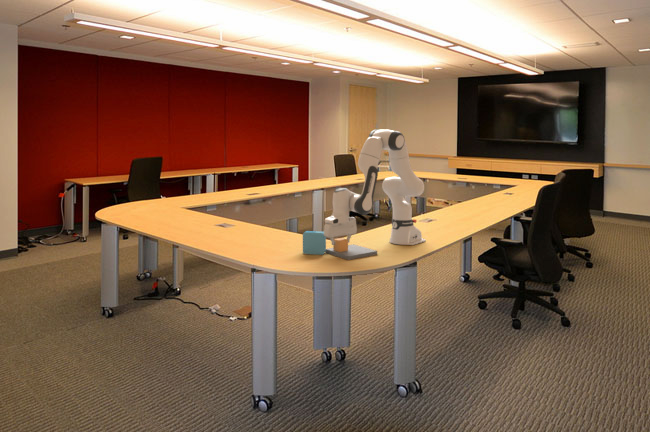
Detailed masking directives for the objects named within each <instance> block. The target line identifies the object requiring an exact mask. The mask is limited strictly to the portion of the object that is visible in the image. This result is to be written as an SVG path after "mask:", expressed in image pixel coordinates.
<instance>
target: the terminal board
mask: <svg viewBox="0 0 650 432" xmlns="http://www.w3.org/2000/svg"><path fill="white" fill-rule="evenodd" d="M325 253H326V254H328V255H331V256H335V257H338V258H341V259H345V260H347V261H350V260H357V259H362V258H367V257H371V256H376V255H378V250H376V249H371V248H368V247H365V246H361V245H358V244H348V251H342V252H338V251H335V250H333V247H331V248H330V247H329V248H326V252H325ZM325 253H324V254H325Z"/></svg>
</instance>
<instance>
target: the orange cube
mask: <svg viewBox="0 0 650 432" xmlns="http://www.w3.org/2000/svg"><path fill="white" fill-rule="evenodd" d="M333 240H334V241H335V242H336V245H332V248H333V250H335V251H338V252H342V251H348V245H349V243H348V240H347V238H344V237H339V238H338V237H337V238H334V239H333Z"/></svg>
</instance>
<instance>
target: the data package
mask: <svg viewBox="0 0 650 432" xmlns="http://www.w3.org/2000/svg"><path fill="white" fill-rule="evenodd" d="M326 249H327V237H325V236H324V231H323V230H322V231H319V230H318V231H316V230H315V231H314V230H312V231H311V230H306V231H304V232H303V233H302V253H303V254H305V255H314V256H315V255H318V256H319V255H320V256H322V255H324V254H325V252H326Z"/></svg>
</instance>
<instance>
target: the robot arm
mask: <svg viewBox="0 0 650 432" xmlns="http://www.w3.org/2000/svg"><path fill="white" fill-rule="evenodd" d="M383 151H388V156H389V157H388V159H389V165H390V169H391V171H392V173H394V174H395V175H397V176H389V177H385V178H384V179H383V181H382V184H381V186H382V191H383V192H384V193H385V194H386V195H387V197H388V198H389V200H390V203H391V206H392V219H391V233H390V237H389V243H390V244H394V245H403V246H404V245H407V246H409V245H410V246H414V245H418V244H421V243H425V242H426V239H425V238H423V235H422V231H421V230H420V229H419V228H418V227H416V226H415V225H414V223H415V224H416V223H417V221H418V220H417V219H414V218H413V219H412V216H413V215H412V213H413V210H412V209H413V206H412V205H411V203H409V202H408V201H406V199H405V197H410V198H411V197H412V198H413V197H419V196H421V195H422V194H423V193H424V191H425V184H424V181H423V180H422V179H421V178H419V177H418V175H416V174H415V172H414V171H413V169H412V167H411V162H410V157H409V155H410V154H409V149H408V145H407V141H406V139H405V136H404V134H403V133H402V132H400V131H398V130H391V129H373V130H372V131H370V133H369V134H368V137H367V138H366V139H365V141H364V143H363V146H362V147H361V149H360V153H359V156H358V160H357V166H358V169H359V170H360V172H362V174H363V175H364V183H363V188H362V191H361V194H360V193H355V192H353V191H351V190H349V189H348V188H346V187H339V188H337V189H336V188H335V190H333V193H332V214H331V215H330V216H328V217H326V218H324V226H323V232H324V236H325V237H326V239H329V240H330V241H331V245H332V246H333V245H336V242H335V241H334V240H333V239H335V238H338V237H341V236H347V237H346V239H347V240H348V244H349V243H350V240H351V238H352V235H355V234H357V232H358V226H357V219H356V218H355V217H354V216H351V217H350V211H351V212H354V213H358V214H360V215H363V216H366V215H368V214H370V213H371V212H372V210H373V209H374V195H375V190H376V187H377V186H376V185H377V181H378V174H379V170H378V169H379V168H378V167H379V163H380V161H381V160H380V159H381V156H382V152H383Z"/></svg>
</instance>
